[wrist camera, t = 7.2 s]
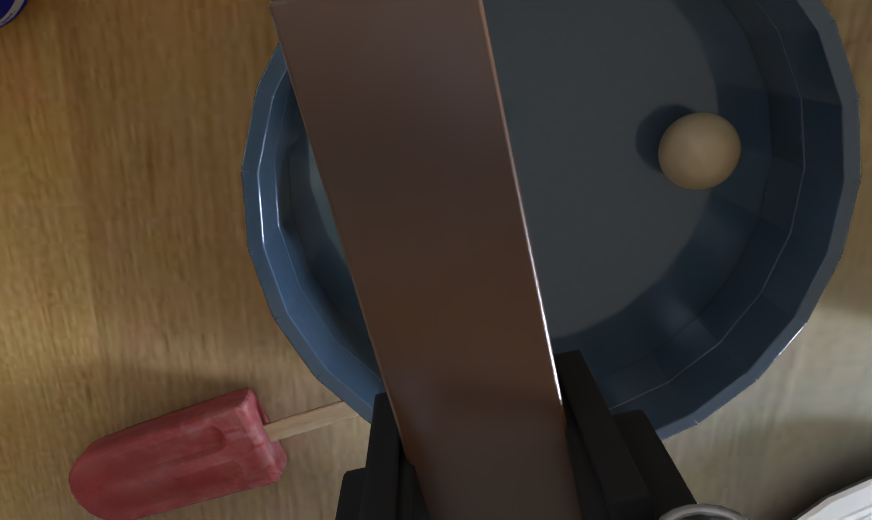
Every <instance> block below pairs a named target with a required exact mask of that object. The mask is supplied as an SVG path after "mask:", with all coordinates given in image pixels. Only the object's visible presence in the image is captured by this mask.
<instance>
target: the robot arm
mask: <svg viewBox="0 0 872 520" xmlns="http://www.w3.org/2000/svg"><path fill="white" fill-rule="evenodd" d="M553 356H554V361H555V366H556V371H557V376H558V381H559V386H560V391H561V396H562V401H563V406H564V411H565V416H566V421H567V426H568V431H567V432H565V436H566V441H567V446H568V450H569V455H570V460H571V465H572V470H573V475H574V480H575V485H576V490H577V495H578V500H579V504H580V509H581V514H582V519H583V520H749V519H747V518H746V517H744V516H743V515H741V514H740V513H738V512H736V511H733V510H730V509H728V508H725V507H722V506H716V505H710V504H697V502H696V501H695V499H694V497H693V495H692V494H691V492H690V490H689V488H688V487H687V485H686V483H685V482H684V480H683V478H682V476H681V475H680V473H679V471H678V469H677V468H676V466H675V464H674V462H673V461H672V459H671V457H670V456H669V454H668V452H667V450H666V449H665V447H664V445H663V443H662V442H661V440H660V438H659V436H658V435H657V433H656V431H655V430H654V428H653V426H652V424H651V423H650V421H649V419H648V417H647V416H646V414H645V413H644V411H643V410H642V409H637V410H632V411H627V412H623V413H618V414H613V415H611V413H610V411H609V409H608V407H607V405H606V403H605V401H604V399H603V397H602V394H601V392H600V390H599V388H598V386H597V384H596V382H595V380H594V378H593V376H592V374H591V372H590V370H589V368H588V366H587V364H586V362H585V360H584V357H583V355H582V353H581V351H580V350H579V349H577V350H573V351H568V352H564V353H559V354H554V355H553ZM335 520H430V517H429V513H428V510H427V507H426V504H425V500H424V497H423V494H422V490H421V487H420V484H419V481H418V477H417V474H416V471H415V467H414V465H409V463H408V461H407V457H406V454H405V451H404V448H403V444H402V441H401V438H400V435H399V431H398V428H397V425H396V422H395V418H394V415H393V412H392V409H391V405H390V402H389V399H388V396H387V392H383V393H378V394H376V395H375V400H374V407H373V415H372V422H371V430H370V437H369V444H368V452H367V459H366V467H365V468H360V469H356V470H351V471H347V472H346V473H345V474H344V476H343V480H342V485H341V490H340V496H339V501H338V507H337V512H336V518H335Z"/></svg>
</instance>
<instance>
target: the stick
mask: <svg viewBox="0 0 872 520" xmlns="http://www.w3.org/2000/svg"><path fill="white" fill-rule="evenodd" d="M269 11H270V14H271V18H272V21H273V24H274V27H275V31H276V34H277V37H278V40H279V44H280V47H281V50H282V53H283V57H284V60H285V63H286V66H287V70H288V73H289V76H290V79H291V83H292V86H293V89H294V93H295V96H296V99H297V102H298V106H299V109H300V112H301V115H302V119H303V122H304V125H305V128H306V132H307V135H308V138H309V141H310V145H311V148H312V151H313V154H314V158H315V161H316V164H317V167H318V171H319V174H320V177H321V180H322V184H323V187H324V190H325V194H326V197H327V200H328V203H329V207H330V210H331V213H332V216H333V220H334V223H335V226H336V229H337V233H338V236H339V239H340V242H341V246H342V249H343V252H344V255H345V259H346V262H347V265H348V268H349V272H350V275H351V278H352V282H353V285H354V288H355V291H356V295H357V298H358V301H359V304H360V308H361V311H362V314H363V317H364V321H365V324H366V327H367V330H368V334H369V337H370V340H371V343H372V347H373V350H374V353H375V356H376V360H377V363H378V366H379V369H380V373H381V376H382V379H383V383H384V386H385V389H386V392H387V396H388V399H389V402H390V405H391V409H392V412H393V415H394V418H395V422H396V425H397V428H398V431H399V435H400V438H401V441H402V444H403V448H404V451H405V454H406V457H407V461H408V463H409V465H414V467H415V471H416V474H417V477H418V481H419V484H420V487H421V490H422V494H423V497H424V500H425V504H426V507H427V510H428V513H429V517H430V520H583V519H582V514H581V509H580V504H579V500H578V495H577V490H576V485H575V480H574V475H573V470H572V465H571V460H570V455H569V450H568V446H567V441H566V436H565V432H567V431H568V426H567V421H566V416H565V411H564V406H563V401H562V396H561V391H560V386H559V381H558V376H557V371H556V366H555V361H554V356H553V351H552V346H551V341H550V336H549V331H548V326H547V321H546V316H545V311H544V306H543V301H542V296H541V291H540V286H539V281H538V276H537V271H536V266H535V261H534V256H533V251H532V246H531V241H530V236H529V231H528V226H527V221H526V216H525V211H524V206H523V201H522V196H521V191H520V186H519V181H518V176H517V171H516V166H515V161H514V156H513V151H512V146H511V141H510V136H509V131H508V126H507V121H506V116H505V111H504V106H503V101H502V96H501V91H500V86H499V81H498V76H497V71H496V66H495V61H494V56H493V51H492V47H491V42H490V37H489V32H488V27H487V22H486V17H485V12H484V7H483V2H482V0H273V1H272V2H270V3H269Z"/></svg>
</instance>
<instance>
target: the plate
mask: <svg viewBox="0 0 872 520" xmlns="http://www.w3.org/2000/svg"><path fill="white" fill-rule="evenodd" d="M792 520H872V475H871V476H869V477H867V478H864V479H862V480H860V481H858V482H855V483H853V484H851V485H849V486H846V487H844V488H842V489H840V490H837V491H835V492H833V493H831V494H828V495H826V496H824V497H823V498H821V499H820V500H819V501H817V502H816V503H814V504H813V505H812V506H810V507H809V508H807V509H806V510H804V511H803V512H802V513H800V514H799V515H797V516H796V517H794V518H793V519H792Z"/></svg>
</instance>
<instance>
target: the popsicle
mask: <svg viewBox="0 0 872 520" xmlns="http://www.w3.org/2000/svg"><path fill="white" fill-rule="evenodd" d="M357 416H359V414H358V413H357V412H355V411H354V410H353V409H352V408H351V407H349V406H348V405H347V404H346V403H345V402H344V401H338V402H335V403H332V404H329V405H326V406H322V407H319V408H316V409H313V410H309V411H306V412H303V413H300V414H296V415H293V416H290V417H287V418H283V419H280V420H277V421H274V422H270V423H269V421H268V419H267V417H266V415H265V413H264V411H263V409H262V407H261V405H260V403H259V401H258V399H257V397H256V395H255V393H254V392H253V390H252V389H250V388H243V389H240V390H236V391H233V392H231V393H228V394H225V395H222V396H220V397H217V398H214V399H211V400H208V401H206V402H203V403H200V404H197V405H194V406H191V407H188V408H185V409H182V410H179V411H176V412H174V413H171V414H168V415H165V416H162V417H159V418H156V419H153V420H151V421H148V422H145V423H142V424H139V425H136V426H133V427H130V428H128V429H125V430H122V431H119V432H116V433H114V434H111V435H108V436H105V437H103V438H101V439H99V440H97V441H95V442H94V443H92V444H91V445H89V446H88V447H87V448H86V450H85V451H84V452H83V453H82V455H81V456H80V457H79V458H78V459H77V460H76V462H75V463H74V465H73V466H72V468H71V471H70V474H69V484H70V488H71V493H72V494H73V496H74V498H75V499H76V500H77V502H78V503H79V504H80V505H81V506H82V507H83V508H85V509H86V510H87V511H88V512H89V513H91V514H93V515H95V516H97V517H100V518H103V519H106V520H134V519H138V518H142V517H146V516H150V515H154V514H158V513H161V512H165V511H169V510H173V509H176V508H180V507H184V506H188V505H192V504H195V503H199V502H203V501H207V500H211V499H214V498H218V497H222V496H226V495H229V494H233V493H237V492H241V491H245V490H249V489H252V488H256V487H260V486H265V485H268V484H271V483H275V482H277V481H279V480H280V479H281V477H282V474H283V471H284V469H285V466H286V462H287V456H286V454H285V452H284V450H283V448H282V446H281V444H280V442H279V440H281V439H284V438H288V437H291V436H294V435H298V434H301V433H304V432H307V431H311V430H314V429H317V428H321V427H324V426H327V425H330V424H334V423H337V422H340V421H344V420H347V419H350V418H354V417H357Z"/></svg>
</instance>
